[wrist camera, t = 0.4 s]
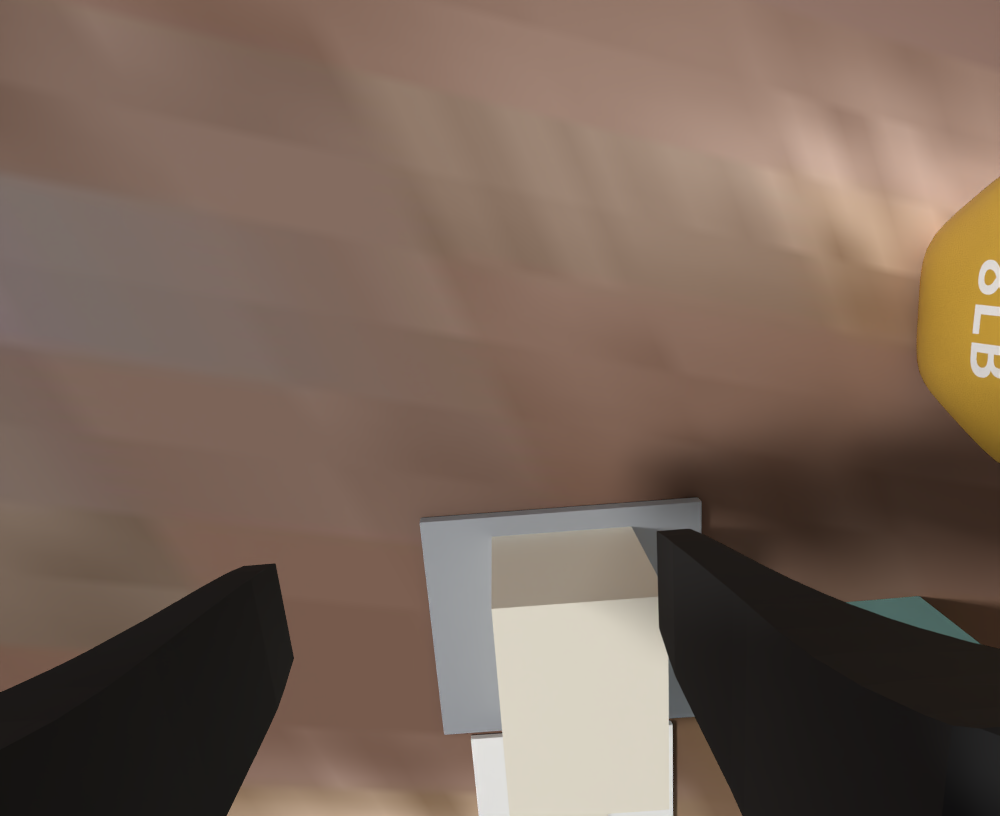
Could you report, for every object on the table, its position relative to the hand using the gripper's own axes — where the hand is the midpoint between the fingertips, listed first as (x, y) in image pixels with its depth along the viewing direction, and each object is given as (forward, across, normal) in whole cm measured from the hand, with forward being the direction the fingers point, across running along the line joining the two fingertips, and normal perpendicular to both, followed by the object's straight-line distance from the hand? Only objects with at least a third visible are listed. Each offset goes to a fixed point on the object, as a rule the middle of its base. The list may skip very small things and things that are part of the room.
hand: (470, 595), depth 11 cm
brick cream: (+9, -2, +7) cm, 12 cm away
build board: (+10, -2, +7) cm, 12 cm away
